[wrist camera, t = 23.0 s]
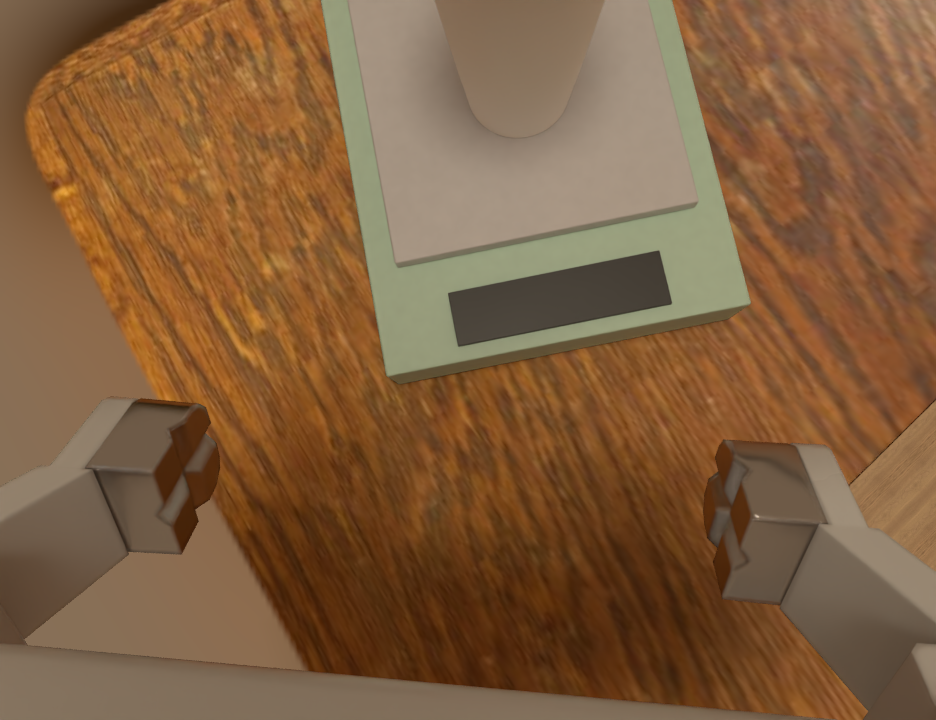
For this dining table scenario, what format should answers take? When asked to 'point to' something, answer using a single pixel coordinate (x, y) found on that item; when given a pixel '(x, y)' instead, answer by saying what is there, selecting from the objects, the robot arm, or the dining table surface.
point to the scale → (529, 195)
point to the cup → (518, 57)
